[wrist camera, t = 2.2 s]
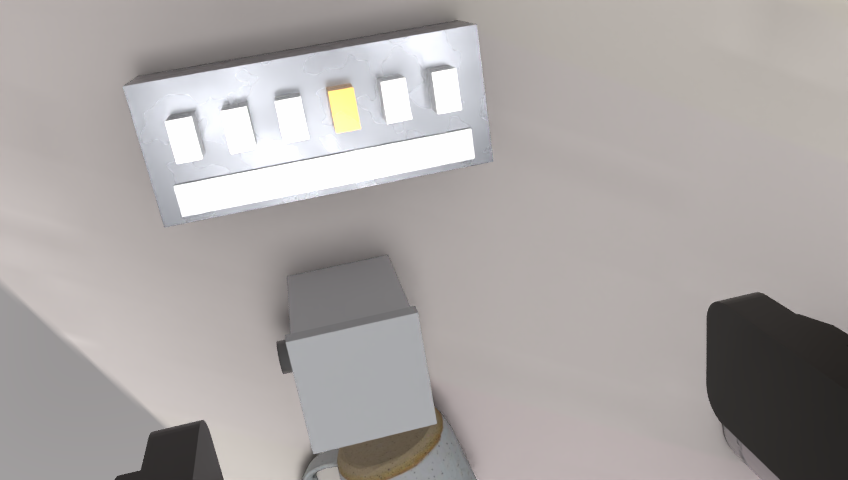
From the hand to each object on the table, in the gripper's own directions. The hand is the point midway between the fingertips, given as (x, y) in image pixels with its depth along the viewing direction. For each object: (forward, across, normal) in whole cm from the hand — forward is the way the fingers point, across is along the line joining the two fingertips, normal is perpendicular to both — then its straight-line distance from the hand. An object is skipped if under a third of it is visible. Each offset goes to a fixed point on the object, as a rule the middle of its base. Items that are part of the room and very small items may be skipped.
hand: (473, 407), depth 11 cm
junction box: (+31, +1, +13) cm, 33 cm away
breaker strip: (+31, 0, +1) cm, 31 cm away
